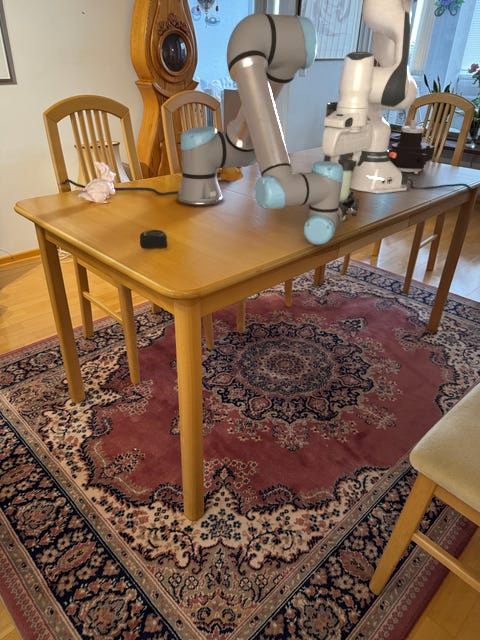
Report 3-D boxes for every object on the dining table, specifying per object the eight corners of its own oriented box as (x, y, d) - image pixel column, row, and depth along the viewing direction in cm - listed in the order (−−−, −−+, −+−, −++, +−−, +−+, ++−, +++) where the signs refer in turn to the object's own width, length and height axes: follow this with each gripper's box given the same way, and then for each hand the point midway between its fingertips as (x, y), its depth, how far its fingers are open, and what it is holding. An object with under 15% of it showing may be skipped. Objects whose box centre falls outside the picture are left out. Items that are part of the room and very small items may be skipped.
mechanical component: (380, 119, 194) (409, 114, 214) (372, 170, 205) (400, 161, 225) (430, 124, 182) (455, 119, 202) (419, 178, 193) (444, 167, 213)
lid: (332, 169, 134) (333, 161, 133) (338, 165, 138) (339, 158, 137) (350, 171, 132) (351, 163, 131) (356, 168, 136) (357, 160, 135)
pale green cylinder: (329, 216, 145) (335, 161, 136) (343, 216, 145) (350, 161, 136) (332, 220, 141) (339, 164, 132) (346, 220, 141) (354, 164, 132)
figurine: (124, 198, 157) (120, 160, 151) (89, 208, 146) (83, 167, 140) (108, 194, 161) (103, 157, 155) (73, 204, 150) (67, 164, 144)
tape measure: (140, 252, 115) (139, 238, 113) (141, 242, 120) (140, 229, 119) (167, 251, 116) (166, 237, 114) (167, 241, 121) (166, 228, 120)
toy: (211, 173, 177) (218, 164, 190) (217, 189, 180) (223, 179, 193) (237, 164, 174) (242, 156, 187) (243, 180, 177) (247, 171, 189)
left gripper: (297, 224, 130) (315, 203, 149) (359, 232, 124) (369, 210, 143) (299, 198, 126) (317, 180, 145) (363, 205, 121) (373, 186, 139)
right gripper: (362, 114, 136) (355, 162, 143) (320, 119, 124) (315, 171, 131) (380, 117, 132) (372, 165, 139) (339, 122, 120) (333, 175, 127)
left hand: (343, 195), depth 144 cm, fingers closed on pale green cylinder, 5 cm apart
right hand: (344, 168), depth 135 cm, fingers open, 8 cm apart
